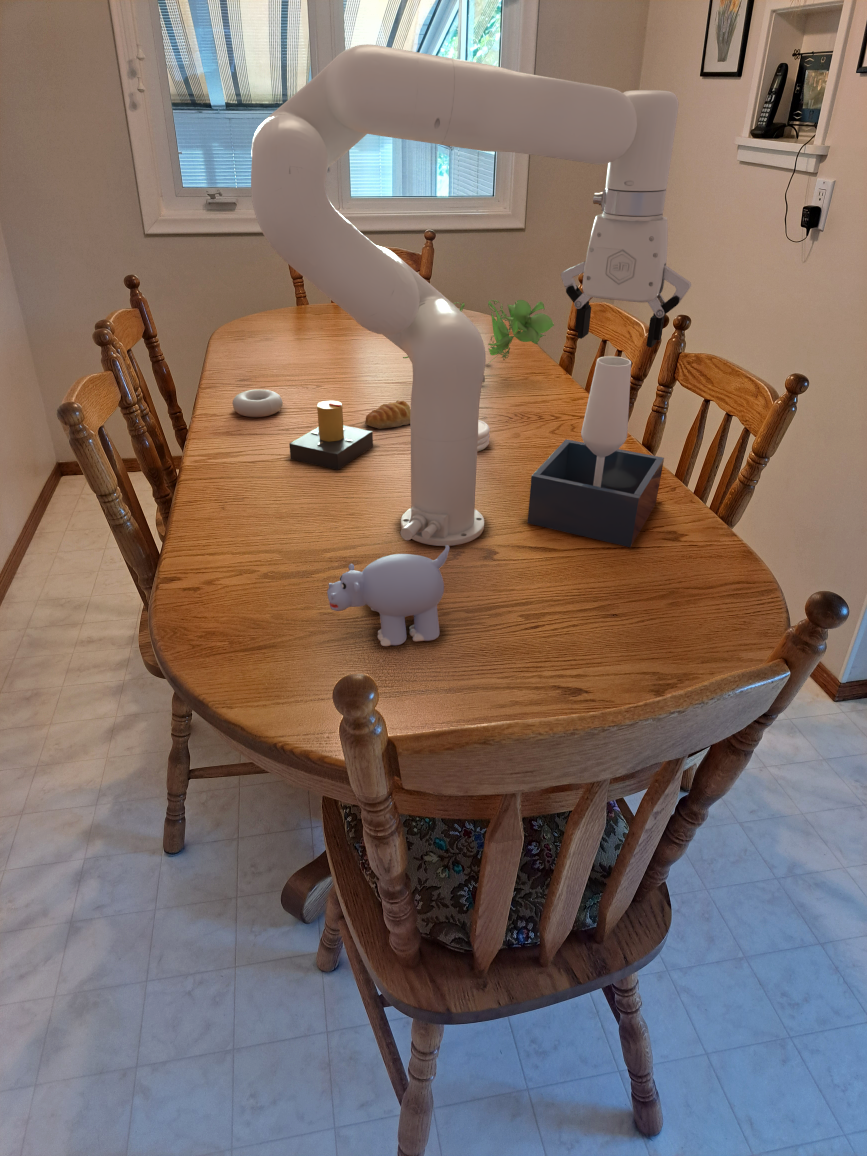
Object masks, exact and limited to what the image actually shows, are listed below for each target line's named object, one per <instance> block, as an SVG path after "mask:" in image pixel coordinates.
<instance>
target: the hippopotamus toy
mask: <svg viewBox="0 0 867 1156" xmlns="http://www.w3.org/2000/svg"><path fill="white" fill-rule="evenodd" d="M450 547H451V546H448V545H446V546H445V548H444V550H443V551H442V552H441V553H440V554H439V555H438V556H437V558H435V559H434V560H433V559H431V558H429V557H428V556H424V555H419V554H413V553H412V554H411V553H393V554H389V555H385V556H382V557H379V558H377V559H376V560H374V561H372V562H369V564H367V565H366V566H365V567H364V569H362V571H360V570H356V569H355V565H354V564H353V563H350V564H349V565H348V571H346V572H343V573H342V574H341V575H340V576H339V580H338V581H335V582H329V583H328V589H327V591H326V594H327V598H328V604H329V608H330V609H331V610H332V611H334V612H343V611H345V610H347V609H349V608H359V607H364V606H368V608H370V610H371V611H373V612H377V613H379V619H380V620H379V621H380V629H379V630H378V631H377V639H378V641H380V645H381V646H383V647H389V646H400V645H402V644H403V643H405V642H406V641H407V625H406V617H409V616H410V617H411V616H413V624H412V625H410V626H409V627H408V629H409V635H410V637H412V641H413V642H423V641H425V642H429V641H435V640H436V639H438V638H439V636H440V632H441V631H440V623H439V613H438V612H439V611H438V605H439V603H440V602H441V601H442V599H443V596H444V593H445V582H444V579H443V575H442V572H441V570H440V569H441V568H442V567H443V566H444V564H445V563H446V561H447V559H448V556H449V552H450V549H451V548H450Z"/></svg>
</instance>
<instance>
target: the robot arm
mask: <svg viewBox="0 0 867 1156" xmlns="http://www.w3.org/2000/svg"><path fill="white" fill-rule="evenodd" d="M678 115H679V100H678V96H677V95H676V93H675V92H673V91H669V90H659V89H636V90H635V89H634V90H633V89H632V90H626V91H624V92H622V91H620V90H619V89H616V88H613V87H609V86H603V85H597V84H591V83H586V82H585V83H584V82H579V81H575V80H574V81H573V80H567V79H561V78H555V77H549V76H543V75H537V74H531V73H525V72H521V71H517V70H513V69H509V68H505V67H501V66H496V65H493V64H489V63H481V62H476V61H471V60H464V59H458V58H452V57H446V56H441V55H435V54H430V53H425V52H424V53H423V52H418V51H412V50H407V49H401V48H395V47H390V46H383V45H378V44H358V45H354V46H352V47H348V48H346V49H345V50H343V51H341V52H340V53H338V54H337V56H335V57H334V58H333V59H332V60H331V61H330V62H328V64H326V66H324V68H322V69H321V71H319V72H318V73H317V74H316V75H315V76H314V77H312V78H311V80H309V81H308V82H307V83H306V84H305V85H304V86H302V87H301V88H300V89H299V90H297V91H296V92H295V93H294V94H293V95H292V96H291V97H290V98H289V99H287V100H286V101H285V102H284V103H282V105H280V106H279V107H278V108H276V109H275V110H274V111H273V112H272V113H271V114H269V116H268V117H266V118H264V120H263V121H262V122H261V123H260V125H258V127H257V129H256V130H255V132H254V134H253V137H252V141H251V148H250V149H251V150H250V151H251V152H250V153H251V154H250V155H251V165H250V166H251V167H250V168H251V170H250V191H251V192H250V193H251V203H252V207H253V212H254V215H255V218H256V221H257V223H258V226H259V228H260V230H261V232H262V235H263V236H264V238H265V240H266V241H267V243H268V244H269V246H270V247H271V248H272V249H273V251H274V252H275V253H276V254H277V255H278V256H279V257H280V258H281V260H283V261H284V262H285V263H286V264H287V265H288V266H290V267H291V268H292V269H293V270H295V271H296V272H297V273H298V274H299V275H301V276H302V277H303V278H304V279H305V280H307V282H308V283H310V284H311V285H313V286H314V287H315V288H316V289H317V290H318V291H319V292H320V293H322V294H323V295H324V296H325V297H327V299H329V300H330V301H332V302H333V303H334V304H336V305H337V306H338V307H339V308H340V309H342V311H344V312H345V313H347V315H349V316H350V318H352V319H353V320H354V321H355V322H356V323H357V324H358V325H359V326H360V327H362V328H364V329H365V330H367V331H369V332H371V333H374V334H377V335H382V336H383V337H384V338H386V339H387V340H389V341H390V342H391V343H392V344H393V345H395V346H397V348H399V349H400V350H401V351H403V352H404V354H405V355H406V356H408V357H409V358H408V359H409V361H410V362H411V367H412V382H411V383H412V385H411V386H412V387H411V393H410V394H411V395H410V423H409V424H410V425H409V427H410V507H409V508H408V509H407V510H406V511H404V512H403V513H402V515H401V518H400V528H401V530H400V531H399V533H400V536H401V538H402V540H405V541H411V539H412V540H413V541H415V542H418V543H421V544H424V545H429V546H435V547H446V545H448V546H449V547H452V546H453V547H454V546H459V545H463V544H466V543H469V542H472V541H473V540H474V541H475V539H478V537H480V536H481V535H482V533H483V532H484V530H485V518H484V515H482V514H481V512H480V511H479V510H477V509H476V487H477V464H478V451H477V445H478V420H480V418H479V417H480V402H481V394H482V386H483V384H482V383H484V382H483V377H484V376H485V371H486V361H487V359H486V357H487V356H486V355H487V354H486V347H485V342H484V338H483V336H482V334H481V332H480V331H479V329H478V327H477V326H476V325H475V324H474V322H473V321H472V320H471V318H469V317H468V316H467V315H466V314H465V313H464V312H463V311H462V310H461V311H462V312H461V311H460V308H458V306H456V304H453V303H454V302H452V301H451V300H449V299H448V298H447V297H445V295H443V294H442V293H441V292H440V291H439V290H438V289H437V288H435V286H433V285H432V284H431V283H430V282H428V281H427V280H426V279H425V278H423V277H422V276H421V275H420V274H419V273H418V272H417V271H416V270H415V269H413V267H411V266H410V265H409V264H407V262H405V261H404V260H403V259H402V258H401V257H400V256H398V255H397V254H396V253H395V252H393V251H392V250H391V249H389V248H388V247H387V248H386V247H384V246H381V245H377V244H376V243H374V242H373V241H372V240H371V239H369V237H367V236H366V235H364V234H363V232H361V231H360V230H359V229H358V228H357V227H356V226H355V225H354V224H353V223H352V222H351V221H349V220H348V219H347V218H346V217H345V216H344V215H343V214H342V213H340V212H339V211H338V210H337V209H336V207H335V206H334V205H333V204H332V202H331V200H330V199H329V196H328V192H327V188H326V182H327V176H328V170H329V168H330V167H331V166H333V164H335V163H336V162H337V161H339V159H341V158H342V157H343V156H345V154H346V153H347V152H349V151H350V150H351V149H352V148H354V147H355V146H356V145H357V144H358V143H359V142H360V141H362V139H364V138H365V137H366V136H367V135H372V136H377V137H378V136H379V137H386V138H392V139H398V140H406V141H413V142H421V143H428V144H435V145H440V146H446V147H453V148H459V149H467V150H473V151H480V152H488V153H489V152H496V153H497V152H498V153H499V152H501V153H514V154H523V155H530V156H536V157H543V158H550V159H551V158H552V159H558V160H563V161H564V160H565V161H572V162H576V163H577V162H578V163H583V164H590V165H596V166H597V165H599V166H603V165H607V169H606V170H607V171H606V179H605V187H604V188H603V191H600V192H594V194H593V197H592V203H593V204H594V205H598V206H600V208H601V212H602V213H600V214H597V215H595V218H594V221H593V225H592V229H591V232H590V237H589V242H588V246H587V251H586V258H585V261H583V262H580V263H578V264H575V265H574V266H572V267H569V268H567V269H565V270H563V271H562V272H560V278H561V280H562V284H563V286H564V288H565V293H566V295H567V296H568V297H569V299H570V300H571V302H573V304H574V308H575V309H576V314H575V326H574V330H575V331H577V339H581V340H582V339H584V338H585V337H586V336H587V335H589V333H590V323H591V314H592V306H591V304H590V301H591V300H592V299H593V298H595V299H600V300H601V299H603V300H610V301H621V302H630V303H643V304H644V303H647V304H648V306H649V307H650V309H651V310H652V312H653V315H652V316H651V317H650V319H649V324H648V332H647V338H646V347H647V348H650V349H652V348H653V347H654V346H655V345H656V344H657V341H661V339H662V335H663V329H664V322H665V316H666V315H667V314H668V313H669V312H670V311H673V309H675V308H676V307H677V306H678V305H679V304H680V303H681V302H682V300H683V298H684V297H685V296H686V295H687V293H688V292H689V290H690V289H691V287H692V283H691V282H690V280H688V279H687V278H685V277H683V276H682V275H681V274H679V273H678V272H677V271H675V270H673V269H672V268H670V266H668V265H667V262H668V247H669V246H668V245H669V222H668V217H667V216H664V210H665V209H664V208H665V204H666V203H665V202H666V201H665V200H666V195H667V188H668V181H669V176H670V169H671V162H672V155H673V149H674V147H673V146H674V141H675V134H676V127H677V121H678V120H677V119H678ZM581 274H583V276H582V287H581V288H582V290H581V289H580V287H579V286H578V285H577V284H576V280H575V277H577V276H579V275H581ZM665 281H666V282H668V283H669V284H670V285H672V286H673V287H674V288H675V292H674V293H673V295H672V296H671V297H670V298H668V299H667V300H665V299H664V297H663V295H662V294H661V293H663V290H664V287H665Z"/></svg>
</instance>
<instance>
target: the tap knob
mask: <svg viewBox="0 0 867 1156" xmlns="http://www.w3.org/2000/svg"><path fill="white" fill-rule="evenodd" d="M343 409H344V408H343V403H342V402H340V401H338V400H323V401H320V402H318V403H317V404H316V410H317V412H316V413H317V424H318V426H317V427H319V438H320V439H321V440H323V441H329V442H332V441H339V440H341V439H343V438H344V428H343V425H344V411H343Z"/></svg>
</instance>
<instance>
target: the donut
mask: <svg viewBox="0 0 867 1156" xmlns="http://www.w3.org/2000/svg"><path fill="white" fill-rule="evenodd" d="M282 407H283V399H282V396H281V395H280V394H279V393H277V392H276V391H272V390H270V389H264V388H263V389H262V388H259V389H258V388H257V389H249V390H244V391H242V392H240V393H238V394H236V395H235V396H234V398H233V399H232V408H233V410H234V411H235V412H236V413H237V414H239V415H240V416H244V417H247V418H265V417H270V416H273V415H274V414H277V413H278V412H279V411H280V410H281V409H282Z"/></svg>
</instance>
